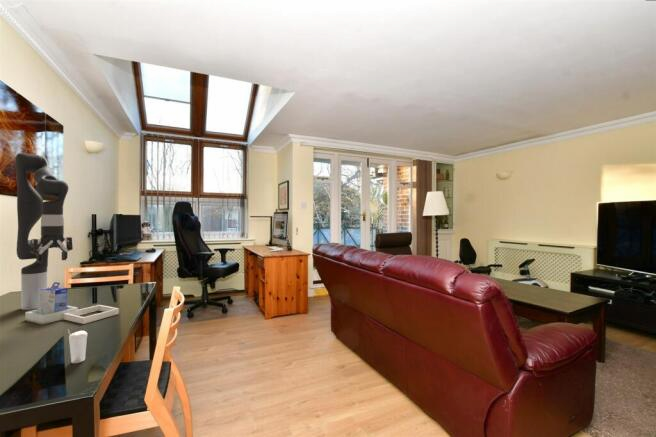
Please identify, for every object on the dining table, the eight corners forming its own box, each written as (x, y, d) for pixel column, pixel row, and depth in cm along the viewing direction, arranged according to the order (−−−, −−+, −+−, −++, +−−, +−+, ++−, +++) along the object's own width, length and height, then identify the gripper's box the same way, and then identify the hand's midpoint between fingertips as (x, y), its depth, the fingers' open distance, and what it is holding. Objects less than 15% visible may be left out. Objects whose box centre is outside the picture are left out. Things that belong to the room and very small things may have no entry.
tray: (25, 320, 132) (25, 312, 132) (61, 311, 144) (61, 304, 144) (42, 324, 127) (42, 316, 127) (77, 315, 139) (77, 307, 139)
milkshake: (73, 358, 97) (73, 326, 97) (90, 357, 98) (91, 326, 98) (61, 364, 93) (62, 332, 93) (80, 364, 93) (80, 331, 93)
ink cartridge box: (68, 314, 137) (68, 282, 137) (54, 318, 132) (54, 285, 132) (52, 312, 140) (52, 281, 140) (38, 316, 134) (38, 283, 134)
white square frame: (63, 319, 133) (63, 313, 133) (99, 309, 147) (99, 304, 147) (83, 324, 128) (83, 318, 128) (118, 313, 141) (118, 308, 141)
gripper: (66, 224, 143) (66, 258, 143) (27, 225, 130) (26, 263, 130) (76, 224, 140) (75, 260, 140) (36, 225, 127) (36, 264, 127)
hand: (52, 261), depth 135 cm, fingers open, 8 cm apart
